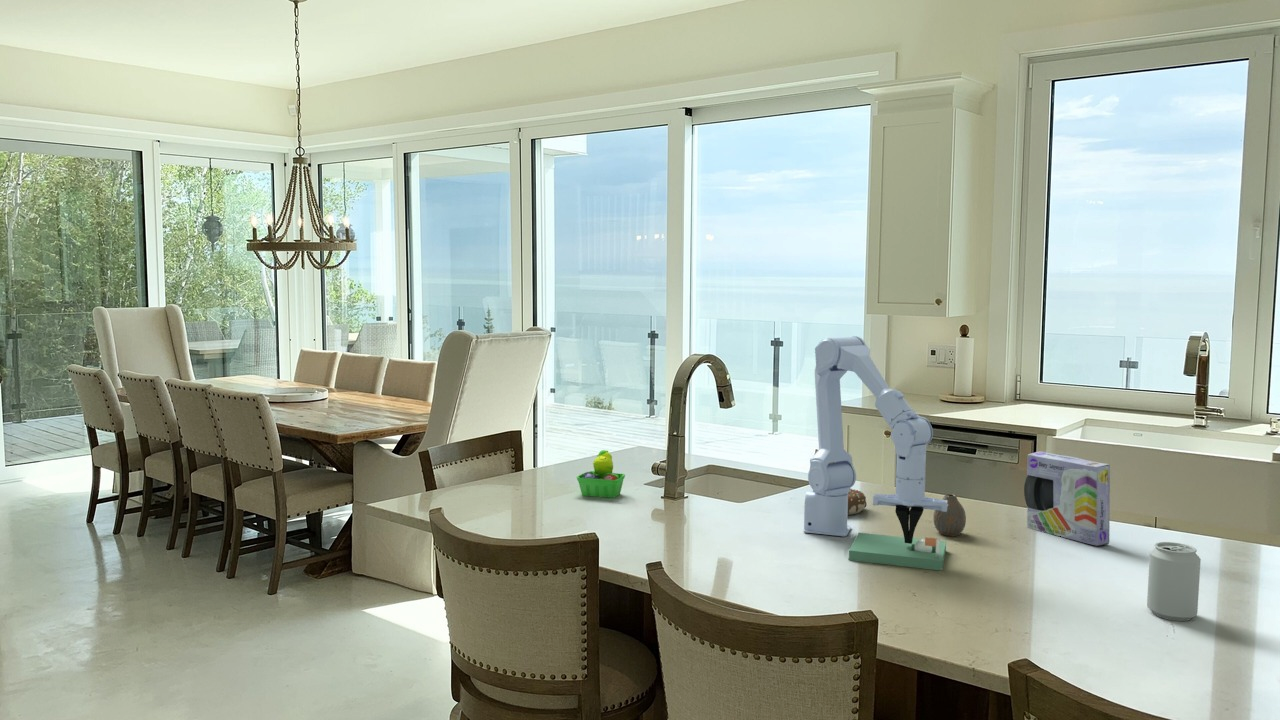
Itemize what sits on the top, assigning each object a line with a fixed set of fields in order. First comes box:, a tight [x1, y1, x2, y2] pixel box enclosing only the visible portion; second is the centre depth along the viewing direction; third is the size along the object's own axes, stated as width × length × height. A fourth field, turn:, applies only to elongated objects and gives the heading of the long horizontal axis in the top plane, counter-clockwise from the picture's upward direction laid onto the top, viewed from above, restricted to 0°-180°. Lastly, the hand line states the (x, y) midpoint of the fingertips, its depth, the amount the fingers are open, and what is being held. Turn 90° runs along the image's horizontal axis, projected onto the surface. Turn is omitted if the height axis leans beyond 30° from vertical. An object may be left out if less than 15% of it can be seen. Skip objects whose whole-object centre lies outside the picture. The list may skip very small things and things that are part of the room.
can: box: [1146, 541, 1202, 622], centre depth 158 cm, size 8×8×12 cm
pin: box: [924, 536, 941, 559], centre depth 183 cm, size 3×1×6 cm, turn 69°
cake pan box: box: [1023, 451, 1111, 547], centre depth 205 cm, size 19×5×18 cm, turn 27°
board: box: [848, 532, 947, 571], centre depth 191 cm, size 18×14×2 cm
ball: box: [914, 538, 932, 553], centre depth 189 cm, size 4×4×4 cm
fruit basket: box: [576, 449, 626, 499], centre depth 243 cm, size 11×9×11 cm
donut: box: [848, 488, 868, 516], centre depth 228 cm, size 14×14×5 cm
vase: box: [932, 493, 967, 537], centre depth 207 cm, size 7×7×9 cm
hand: (908, 542), depth 190 cm, fingers closed
